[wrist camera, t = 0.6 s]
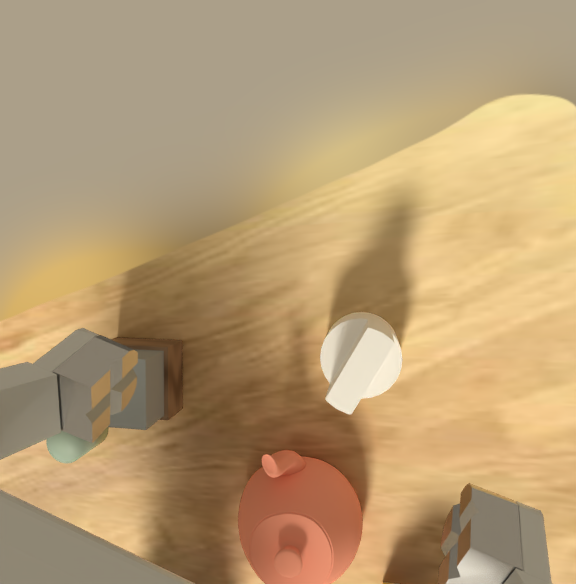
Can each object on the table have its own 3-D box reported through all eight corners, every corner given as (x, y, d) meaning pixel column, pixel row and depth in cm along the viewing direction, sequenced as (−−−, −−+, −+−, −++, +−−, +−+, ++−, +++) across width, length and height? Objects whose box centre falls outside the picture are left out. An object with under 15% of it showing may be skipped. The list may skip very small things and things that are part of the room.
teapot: (230, 424, 66) (198, 463, 54) (345, 409, 63) (339, 446, 51) (261, 586, 67) (237, 660, 55) (375, 577, 64) (376, 654, 52)
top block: (164, 415, 62) (146, 429, 57) (103, 411, 63) (80, 424, 58) (163, 350, 61) (145, 359, 56) (102, 347, 62) (79, 356, 58)
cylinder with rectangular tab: (375, 398, 62) (376, 432, 50) (311, 360, 63) (298, 385, 51) (413, 335, 61) (423, 356, 49) (348, 298, 62) (342, 309, 50)
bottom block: (183, 407, 67) (168, 420, 62) (119, 403, 68) (99, 415, 63) (183, 339, 66) (167, 347, 61) (118, 337, 67) (98, 343, 62)
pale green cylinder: (108, 446, 69) (83, 464, 63) (74, 443, 69) (47, 461, 64) (108, 410, 68) (83, 425, 62) (73, 407, 69) (46, 422, 63)
